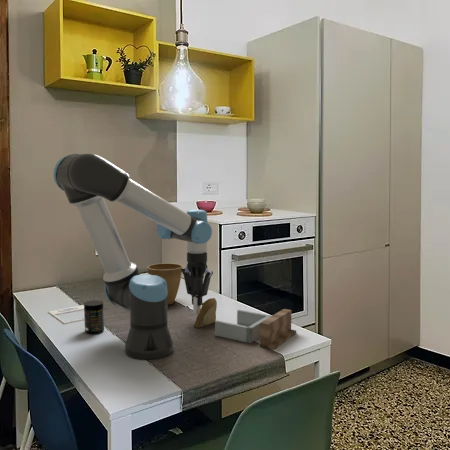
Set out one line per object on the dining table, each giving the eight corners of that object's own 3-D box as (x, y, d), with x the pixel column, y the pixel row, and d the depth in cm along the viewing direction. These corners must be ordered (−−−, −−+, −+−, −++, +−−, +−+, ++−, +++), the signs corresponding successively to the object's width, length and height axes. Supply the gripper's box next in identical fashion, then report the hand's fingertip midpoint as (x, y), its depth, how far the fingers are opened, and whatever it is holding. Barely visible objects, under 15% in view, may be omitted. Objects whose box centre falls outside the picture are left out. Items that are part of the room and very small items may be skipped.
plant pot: (189, 302, 203) (189, 266, 201) (161, 309, 193) (161, 271, 191) (168, 295, 214) (168, 261, 212) (141, 302, 204) (140, 265, 202)
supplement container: (108, 331, 168) (107, 302, 166) (92, 336, 162) (91, 306, 161) (96, 327, 172) (96, 299, 171) (80, 331, 167) (79, 303, 165)
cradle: (250, 343, 156) (250, 328, 156) (215, 335, 164) (215, 321, 163) (272, 329, 170) (272, 315, 170) (238, 322, 178) (238, 309, 177)
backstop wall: (273, 349, 151) (274, 325, 150) (259, 346, 154) (260, 322, 153) (296, 333, 166) (296, 311, 165) (283, 330, 169) (283, 308, 168)
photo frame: (83, 304, 198) (101, 314, 184) (83, 307, 198) (101, 317, 184) (47, 311, 189) (64, 322, 175) (48, 313, 189) (64, 325, 175)
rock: (198, 325, 168) (223, 317, 172) (190, 303, 171) (215, 296, 175) (191, 334, 176) (216, 327, 180) (184, 313, 180) (208, 306, 184)
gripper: (217, 251, 174) (217, 313, 177) (188, 248, 181) (188, 308, 184) (206, 254, 168) (206, 319, 171) (176, 251, 175) (177, 313, 177)
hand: (197, 313), depth 177 cm, fingers closed
